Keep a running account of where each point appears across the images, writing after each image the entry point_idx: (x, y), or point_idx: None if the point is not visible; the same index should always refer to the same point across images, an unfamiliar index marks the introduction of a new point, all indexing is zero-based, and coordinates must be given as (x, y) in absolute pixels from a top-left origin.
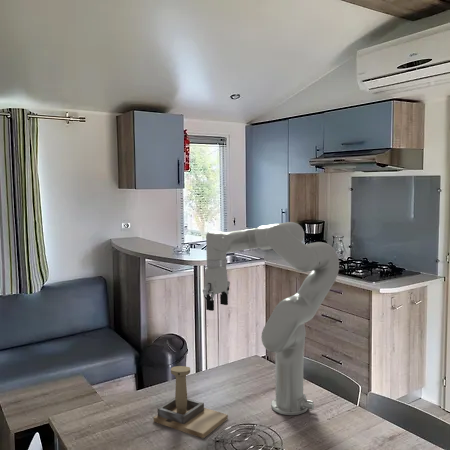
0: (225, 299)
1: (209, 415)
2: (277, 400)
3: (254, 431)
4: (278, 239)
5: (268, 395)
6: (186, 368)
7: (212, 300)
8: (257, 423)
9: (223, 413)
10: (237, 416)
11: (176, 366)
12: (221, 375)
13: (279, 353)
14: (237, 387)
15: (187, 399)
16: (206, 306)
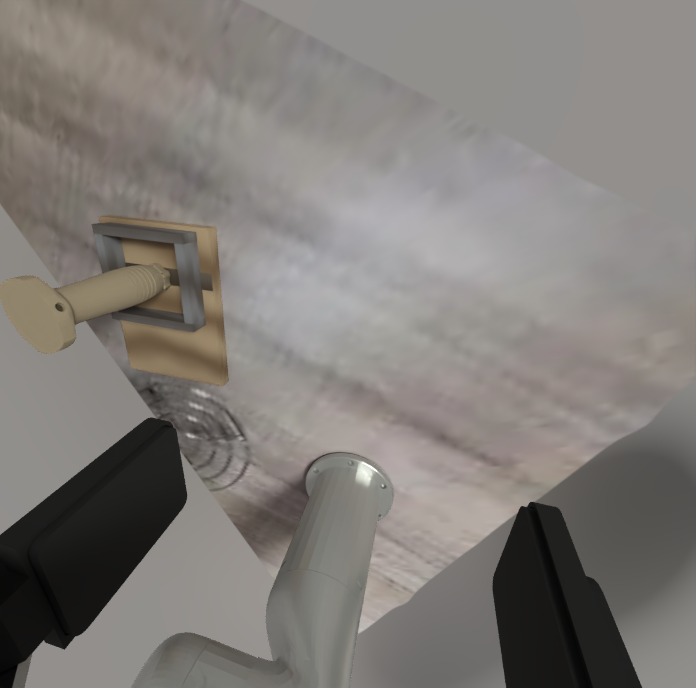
0: (510, 671)
1: (193, 349)
2: (316, 484)
3: (219, 442)
4: None
5: (389, 434)
6: (49, 336)
7: (40, 634)
8: (248, 441)
9: (220, 375)
10: (250, 396)
11: (31, 289)
12: (489, 242)
13: (272, 621)
14: (405, 340)
15: (181, 277)
16: (118, 446)
